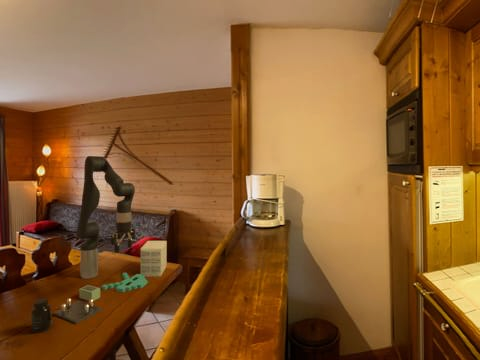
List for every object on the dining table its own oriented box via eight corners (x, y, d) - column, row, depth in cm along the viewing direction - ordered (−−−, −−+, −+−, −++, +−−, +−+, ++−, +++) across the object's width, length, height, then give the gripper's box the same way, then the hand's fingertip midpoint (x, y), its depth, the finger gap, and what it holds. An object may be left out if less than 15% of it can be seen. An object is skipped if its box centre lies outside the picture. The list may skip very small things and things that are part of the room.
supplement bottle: (38, 323, 116) (37, 297, 116) (54, 323, 117) (54, 296, 116) (27, 333, 110) (26, 305, 109) (44, 333, 110) (44, 305, 109)
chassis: (53, 314, 123) (53, 303, 123) (78, 302, 134) (78, 292, 134) (76, 323, 117) (76, 312, 117) (100, 310, 128) (100, 300, 127)
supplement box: (147, 266, 184) (147, 240, 183) (166, 266, 185) (167, 240, 184) (139, 276, 167) (139, 248, 166) (161, 276, 168) (161, 248, 167)
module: (79, 298, 139) (79, 288, 139) (88, 294, 144) (88, 284, 144) (91, 301, 136) (91, 291, 136) (100, 297, 140) (100, 287, 140)
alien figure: (101, 290, 149) (134, 294, 145) (101, 286, 149) (134, 290, 145) (124, 275, 169) (153, 279, 165) (124, 272, 169) (153, 275, 165)
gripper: (128, 217, 151) (128, 245, 152) (107, 221, 138) (107, 252, 139) (139, 218, 148) (138, 247, 149) (118, 223, 135) (117, 255, 136)
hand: (123, 249), depth 144 cm, fingers open, 8 cm apart
